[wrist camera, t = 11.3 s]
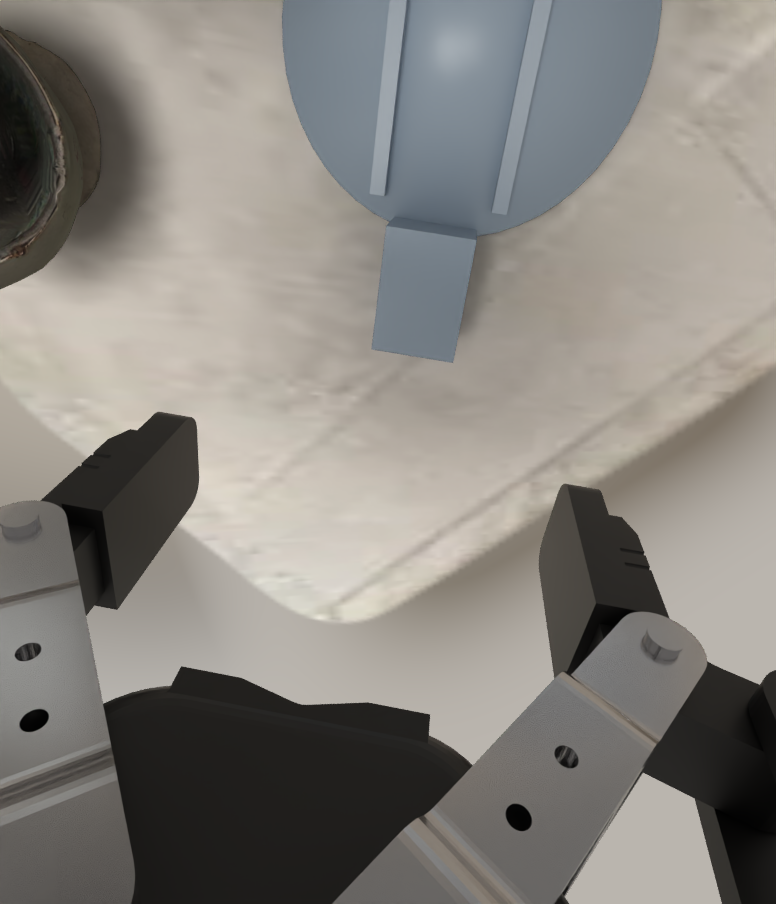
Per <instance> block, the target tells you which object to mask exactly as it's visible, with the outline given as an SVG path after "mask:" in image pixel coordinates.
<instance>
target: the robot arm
mask: <svg viewBox="0 0 776 904" xmlns="http://www.w3.org/2000/svg"><path fill="white" fill-rule="evenodd" d="M198 484H199V465H198V443H197V426H196V422H195V420H194V419H193V418H192V417H186V416H181V415H175V414H169V413H163V412H157V413H155V414H154V415H153V416H152V417H151V418H150V419H149V420H148V421H147V422H146V423H145V424H144V425H143V426H142V427H140V428H139V429H138V430H131V429H130V430H128V431H125V432H123V433H121V434H119V435H117V436H114V437H112V438H110V439H108V440H107V441H106V442H105V443H103V444H102V445H101V446H100V447H99V448H98V449H97V450H96V451H95V452H94V454H93V455H90V456H89V457H88V458H87V459H86V460H85V461H84V462H83V463H82V465H81V466H78V467H77V468H76V469H75V470H74V471H73V472H72V473H70V474H69V475H68V476H67V477H66V478H65V479H64V480H63V481H62V482H61V483H59V484H58V485H57V486H56V487H55V488H54V489H53V490H52V491H51V492H49V494H47V495H46V496H45V497H44V498H43V499H42V500H41V501H23V502H17V503H12V504H9V505H5V506H2V507H0V904H569V903H568V901H567V900H566V898H565V896H566V894H567V893H568V891H569V889H570V888H571V886H572V885H573V883H574V881H575V880H576V878H577V877H578V875H579V873H580V872H581V870H582V869H583V867H584V865H585V864H586V862H587V860H588V859H589V857H590V855H591V854H592V852H593V851H594V849H595V848H596V846H597V844H598V843H599V841H600V840H601V838H602V836H603V835H604V833H605V832H606V830H607V829H608V827H609V826H610V824H611V822H612V821H613V819H614V818H615V816H616V815H617V813H618V811H619V810H620V808H621V806H622V805H623V804H624V802H625V800H626V799H627V797H628V796H629V794H630V792H631V791H632V789H633V788H634V786H635V785H636V783H637V782H638V780H639V778H640V777H641V775H642V774H643V773H645V774H647V775H649V776H651V777H653V778H655V779H657V780H659V781H661V782H663V783H665V784H667V785H669V786H671V787H673V788H675V789H677V790H679V791H681V792H683V793H685V794H687V795H689V796H691V797H693V798H695V801H696V805H697V809H698V813H699V817H700V821H701V825H702V828H703V832H704V836H705V839H706V844H707V847H708V851H709V855H710V859H711V863H712V867H713V870H714V874H715V878H716V882H717V886H718V890H719V894H720V897H721V901H722V904H776V670H775V671H772V672H770V673H769V674H768V675H766V677H765V678H764V680H763V681H762V683H761V684H760V685H759V684H756V683H754V682H752V681H749V680H747V679H745V678H742V677H740V676H737V675H735V674H733V673H730V672H728V671H726V670H723V669H721V668H719V667H717V666H715V665H713V664H711V663H709V662H708V661H707V658H706V654H705V651H704V649H703V647H702V645H701V644H700V642H699V641H698V640H697V639H696V638H695V637H694V636H693V635H692V633H690V632H689V631H688V630H687V629H686V628H684V627H683V626H681V625H680V624H678V623H677V622H675V621H673V620H671V619H670V618H669V616H668V613H667V611H666V608H665V605H664V603H663V600H662V597H661V595H660V592H659V590H658V587H657V584H656V582H655V579H654V577H653V574H652V571H651V570H649V567H650V566H649V564H648V561H647V558H646V556H644V551H643V548H642V545H641V543H640V540H639V538H638V535H637V534H636V532H635V531H634V530H633V529H632V528H631V527H630V526H629V525H628V524H627V523H626V522H625V521H624V520H623V518H622V517H617V516H611V515H609V514H608V511H607V508H606V505H605V502H604V499H603V496H602V493H601V491H600V490H598V489H592V488H586V487H581V486H575V485H569V484H563V485H562V486H561V488H560V490H559V492H558V495H557V498H556V501H555V504H554V507H553V510H552V513H551V516H550V519H549V522H548V525H547V528H546V531H545V534H544V537H543V540H542V544H541V548H540V555H539V572H540V579H541V586H542V593H543V600H544V607H545V615H546V622H547V629H548V636H549V643H550V650H551V657H552V663H553V671H554V680H553V681H552V682H551V683H550V684H549V685H548V686H547V687H546V688H545V689H544V690H543V691H542V692H541V694H540V695H539V696H538V697H537V698H536V699H535V700H534V701H533V702H532V703H531V704H530V705H529V706H528V707H527V709H526V710H525V711H524V712H523V713H522V714H521V715H520V716H519V717H518V718H517V719H516V720H515V721H514V722H513V723H512V724H511V726H510V727H509V728H508V729H507V730H506V731H505V732H504V733H503V734H502V735H501V737H499V738H498V739H497V740H496V742H495V743H494V744H493V745H492V746H491V747H490V748H489V749H488V750H487V751H486V752H485V753H484V754H483V755H482V756H481V757H480V759H479V760H478V761H477V762H476V763H475V764H474V765H472V764H470V762H469V761H467V760H466V759H465V758H464V757H463V756H461V755H460V754H459V753H458V752H456V751H455V750H454V749H452V748H451V747H449V746H448V745H446V744H444V743H443V742H441V741H439V740H437V739H435V738H433V737H431V736H429V721H430V715H429V714H424V713H419V712H414V711H409V710H404V709H398V708H393V707H388V706H382V705H378V704H373V703H346V704H321V705H301V704H297V703H294V702H292V701H290V700H288V699H286V698H283V697H281V696H279V695H277V694H275V693H273V692H270V691H268V690H266V689H264V688H262V687H260V686H257V685H255V684H253V683H251V682H249V681H247V680H245V679H242V678H239V677H233V676H228V675H222V674H218V673H213V672H208V671H202V670H197V669H192V668H187V667H181V668H180V670H179V672H178V674H177V676H176V678H175V679H174V681H173V683H172V685H171V686H163V687H156V688H149V689H144V690H140V691H137V692H132V693H129V694H127V695H124V696H121V697H118V698H115V699H113V700H111V701H109V702H106V703H104V704H103V701H102V696H101V691H100V686H99V681H98V675H97V670H96V665H95V660H94V655H93V650H92V644H91V639H90V634H89V629H88V624H87V619H86V616H87V614H88V613H89V611H90V610H91V609H92V608H93V606H94V605H96V606H101V607H106V608H111V609H116V610H117V609H118V608H119V607H120V605H121V604H122V602H123V601H124V599H125V598H126V597H127V595H128V594H129V592H130V591H131V590H132V588H133V587H134V585H135V584H136V583H137V581H138V580H139V578H140V577H141V576H142V574H143V573H144V571H145V570H146V568H147V567H148V566H149V564H150V563H151V561H152V560H153V559H154V557H155V556H156V554H157V553H158V551H159V550H160V549H161V547H162V546H163V544H164V543H165V542H166V540H167V539H168V538H169V536H170V535H171V533H172V532H173V531H174V529H175V528H176V526H177V525H178V523H179V522H180V521H181V519H182V518H183V516H184V515H185V514H186V512H187V511H188V509H189V508H190V507H191V505H192V503H193V501H194V499H195V497H196V494H197V490H198Z"/></svg>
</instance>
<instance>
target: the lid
mask: <svg viewBox="0 0 776 904" xmlns="http://www.w3.org/2000/svg"><path fill="white" fill-rule="evenodd" d="M660 15H661V0H284V2H283V14H282V29H283V51H284V59H285V67H286V74H287V78H288V82H289V87H290V91H291V95H292V99H293V102H294V105H295V108H296V111H297V114H298V116H299V119H300V122H301V125H302V127H303V129H304V131H305V133H306V135H307V137H308V139H309V141H310V143H311V145H312V147H313V149H314V150H315V152H316V153H317V155H318V157H319V158H320V160H321V161H322V163H323V164H324V166H325V167H326V169H327V170H328V171H329V172H330V173H331V175H332V176H333V177H334V178H335V180H336V181H337V182H338V183H339V184H340V186H342V187H343V188H344V189H345V190H346V191H347V192H348V193H349V194H350V195H351V196H352V197H353V198H354V199H355V200H356V201H358V202H359V203H360V204H362V205H363V206H365V207H366V208H367V209H369V210H370V211H371V212H373V213H374V214H376V215H378V216H380V217H382V218H383V219H385V220H387V221H389V223H388V225H387V226H386V233H385V241H384V250H383V258H382V267H381V275H380V283H379V292H378V300H377V308H376V317H375V325H374V333H373V342H372V349H373V350H379V351H385V352H391V353H397V354H403V355H409V356H415V357H421V358H427V359H433V360H439V361H445V362H451V363H453V361H454V355H455V350H456V345H457V340H458V335H459V330H460V324H461V319H462V314H463V309H464V304H465V299H466V294H467V288H468V283H469V278H470V273H471V268H472V263H473V257H474V252H475V247H476V242H477V236H481V235H486V234H492V233H497V232H500V231H503V230H506V229H509V228H512V227H515V226H518V225H521V224H523V223H525V222H527V221H529V220H531V219H533V218H535V217H537V216H539V215H541V214H543V213H544V212H546V211H547V210H549V209H550V208H552V207H554V206H555V205H557V204H558V203H560V202H561V201H562V200H563V199H565V198H566V197H567V196H568V195H570V194H571V193H572V192H573V191H574V190H576V189H577V188H578V187H579V186H580V185H581V184H582V183H583V182H584V181H585V180H586V179H587V178H588V177H589V176H590V175H591V174H592V173H593V172H594V171H595V170H596V169H597V168H598V166H599V165H600V164H601V162H602V161H603V160H604V159H605V157H606V156H607V155H608V153H609V152H610V151H611V150H612V148H613V147H614V145H615V144H616V142H617V140H618V139H619V137H620V136H621V134H622V132H623V131H624V129H625V127H626V126H627V124H628V122H629V120H630V118H631V116H632V114H633V112H634V110H635V108H636V106H637V103H638V101H639V99H640V97H641V94H642V92H643V89H644V86H645V83H646V80H647V77H648V75H649V72H650V69H651V65H652V60H653V56H654V52H655V48H656V43H657V39H658V31H659V23H660Z"/></svg>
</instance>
